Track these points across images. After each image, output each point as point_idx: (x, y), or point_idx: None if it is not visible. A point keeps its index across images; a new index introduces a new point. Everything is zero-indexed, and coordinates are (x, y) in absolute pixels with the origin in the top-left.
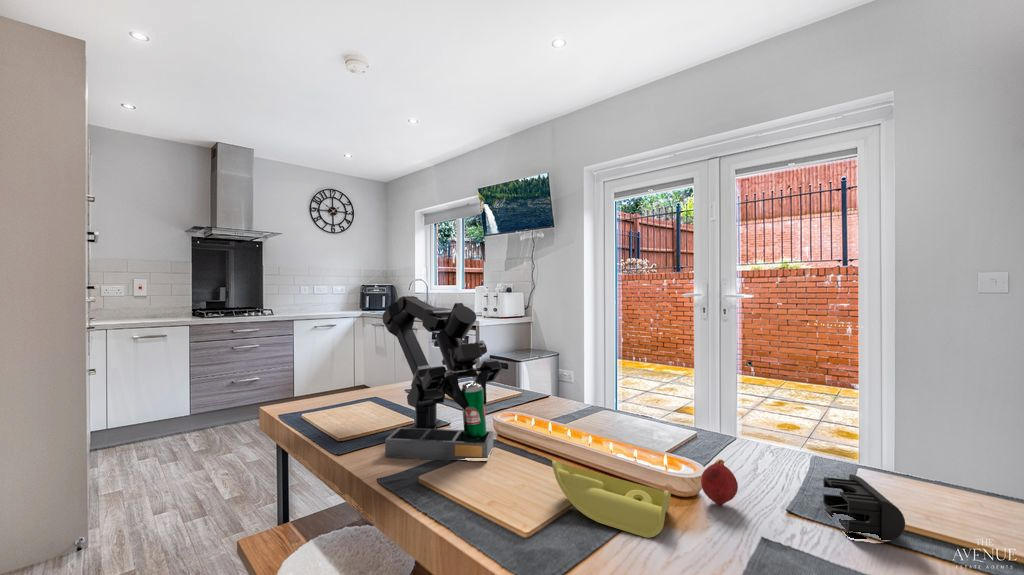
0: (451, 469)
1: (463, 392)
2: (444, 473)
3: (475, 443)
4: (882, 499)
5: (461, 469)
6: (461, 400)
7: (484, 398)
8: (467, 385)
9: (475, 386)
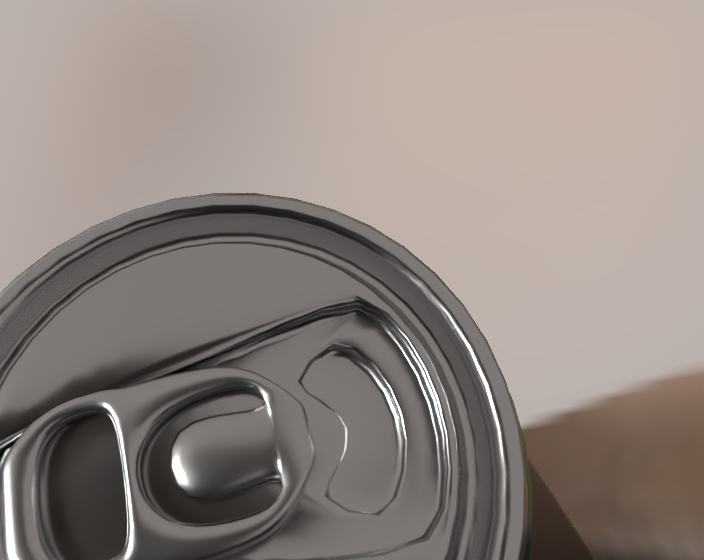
0: (625, 469)
1: (527, 528)
2: (698, 462)
3: None
4: None
5: (576, 415)
6: (568, 523)
7: None
8: (328, 555)
9: (305, 258)
